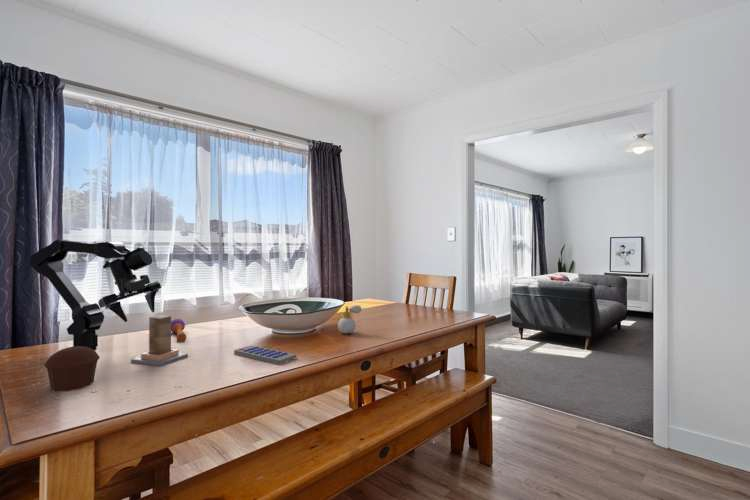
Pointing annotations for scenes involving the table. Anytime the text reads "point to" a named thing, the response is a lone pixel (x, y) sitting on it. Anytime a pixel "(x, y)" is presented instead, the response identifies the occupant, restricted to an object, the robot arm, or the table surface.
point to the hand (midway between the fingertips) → (140, 316)
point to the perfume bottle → (348, 320)
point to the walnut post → (159, 334)
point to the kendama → (178, 329)
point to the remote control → (264, 354)
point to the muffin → (72, 368)
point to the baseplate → (159, 358)
